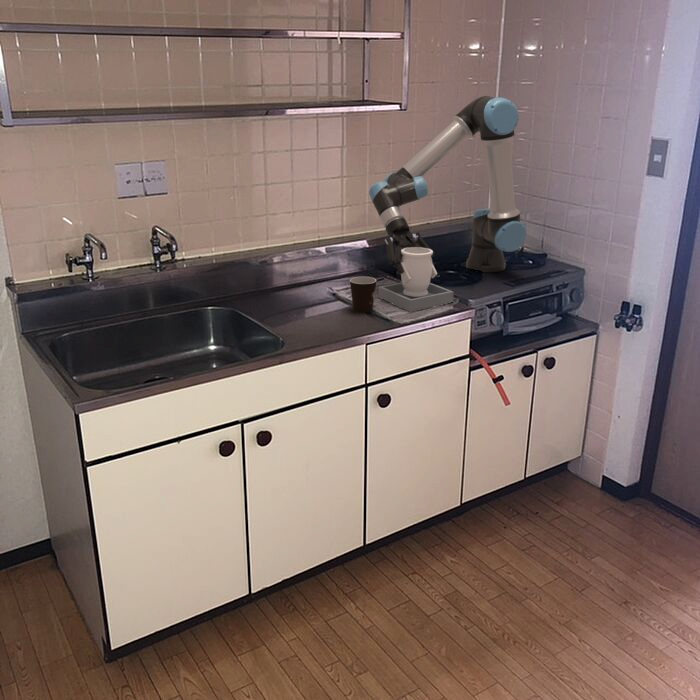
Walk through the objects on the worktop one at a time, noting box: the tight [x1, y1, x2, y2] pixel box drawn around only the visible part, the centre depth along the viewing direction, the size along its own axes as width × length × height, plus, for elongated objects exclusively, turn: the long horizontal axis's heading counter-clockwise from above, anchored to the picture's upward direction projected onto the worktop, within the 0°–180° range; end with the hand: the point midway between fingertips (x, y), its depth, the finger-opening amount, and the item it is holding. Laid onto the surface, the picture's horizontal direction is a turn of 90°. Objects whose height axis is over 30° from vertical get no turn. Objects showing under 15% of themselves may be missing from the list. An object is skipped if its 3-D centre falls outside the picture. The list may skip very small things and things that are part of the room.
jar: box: [400, 247, 434, 297], centre depth 257 cm, size 11×10×15 cm
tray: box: [378, 282, 454, 313], centre depth 260 cm, size 18×18×4 cm
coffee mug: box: [349, 276, 377, 314], centre depth 250 cm, size 12×9×10 cm
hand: (421, 278), depth 255 cm, fingers closed on jar, 10 cm apart
